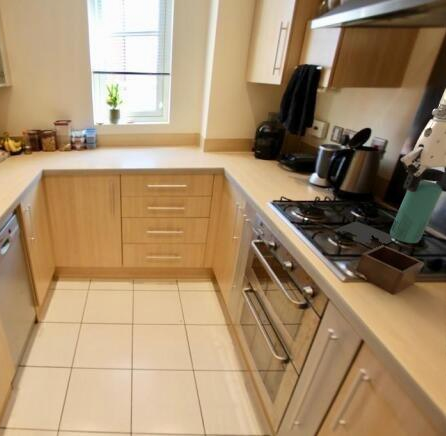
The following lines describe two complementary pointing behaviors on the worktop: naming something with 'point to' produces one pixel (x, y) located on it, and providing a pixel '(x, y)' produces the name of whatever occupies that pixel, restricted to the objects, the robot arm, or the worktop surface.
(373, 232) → the mat
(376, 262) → the open box
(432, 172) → the beverage bottle
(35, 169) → the worktop surface
